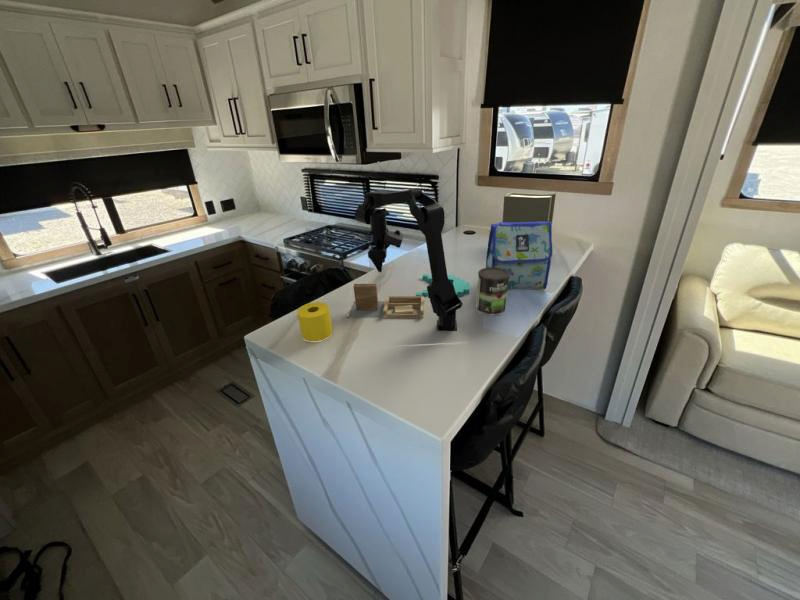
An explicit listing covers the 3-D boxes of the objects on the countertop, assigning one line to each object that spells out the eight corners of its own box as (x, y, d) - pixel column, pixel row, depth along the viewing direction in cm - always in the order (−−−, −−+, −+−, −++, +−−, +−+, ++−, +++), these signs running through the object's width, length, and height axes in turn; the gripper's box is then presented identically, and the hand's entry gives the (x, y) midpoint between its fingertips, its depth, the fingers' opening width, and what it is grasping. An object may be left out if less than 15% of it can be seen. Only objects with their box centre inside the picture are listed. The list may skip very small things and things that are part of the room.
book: (499, 251, 179) (502, 194, 166) (505, 245, 185) (509, 191, 173) (542, 257, 167) (550, 197, 154) (548, 251, 174) (555, 193, 161)
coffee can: (511, 313, 124) (515, 276, 117) (484, 318, 121) (487, 281, 115) (496, 300, 132) (499, 265, 126) (471, 304, 130) (473, 269, 124)
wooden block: (377, 310, 129) (375, 285, 124) (356, 310, 130) (353, 285, 125) (378, 308, 130) (376, 283, 126) (357, 308, 131) (354, 283, 127)
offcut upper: (413, 313, 125) (412, 310, 125) (395, 315, 125) (394, 312, 125) (412, 308, 129) (412, 305, 128) (394, 309, 129) (394, 306, 128)
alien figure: (416, 299, 137) (468, 302, 133) (415, 294, 135) (468, 297, 132) (423, 278, 154) (470, 280, 150) (423, 273, 153) (470, 275, 149)
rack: (423, 318, 123) (423, 311, 122) (383, 318, 125) (383, 311, 123) (424, 303, 133) (424, 296, 131) (387, 303, 134) (386, 296, 133)
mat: (380, 318, 125) (380, 317, 124) (347, 318, 126) (347, 317, 125) (385, 302, 135) (384, 301, 135) (354, 302, 136) (354, 301, 136)
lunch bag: (490, 296, 136) (496, 229, 123) (482, 278, 150) (487, 217, 138) (549, 294, 135) (560, 227, 122) (535, 276, 149) (544, 215, 137)
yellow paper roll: (326, 343, 112) (322, 318, 108) (297, 341, 114) (291, 316, 110) (336, 326, 121) (333, 302, 117) (309, 325, 123) (304, 301, 118)
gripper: (398, 234, 117) (400, 277, 125) (403, 219, 134) (404, 257, 141) (365, 235, 118) (369, 277, 126) (374, 219, 135) (377, 258, 142)
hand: (381, 267), depth 134 cm, fingers open, 9 cm apart
